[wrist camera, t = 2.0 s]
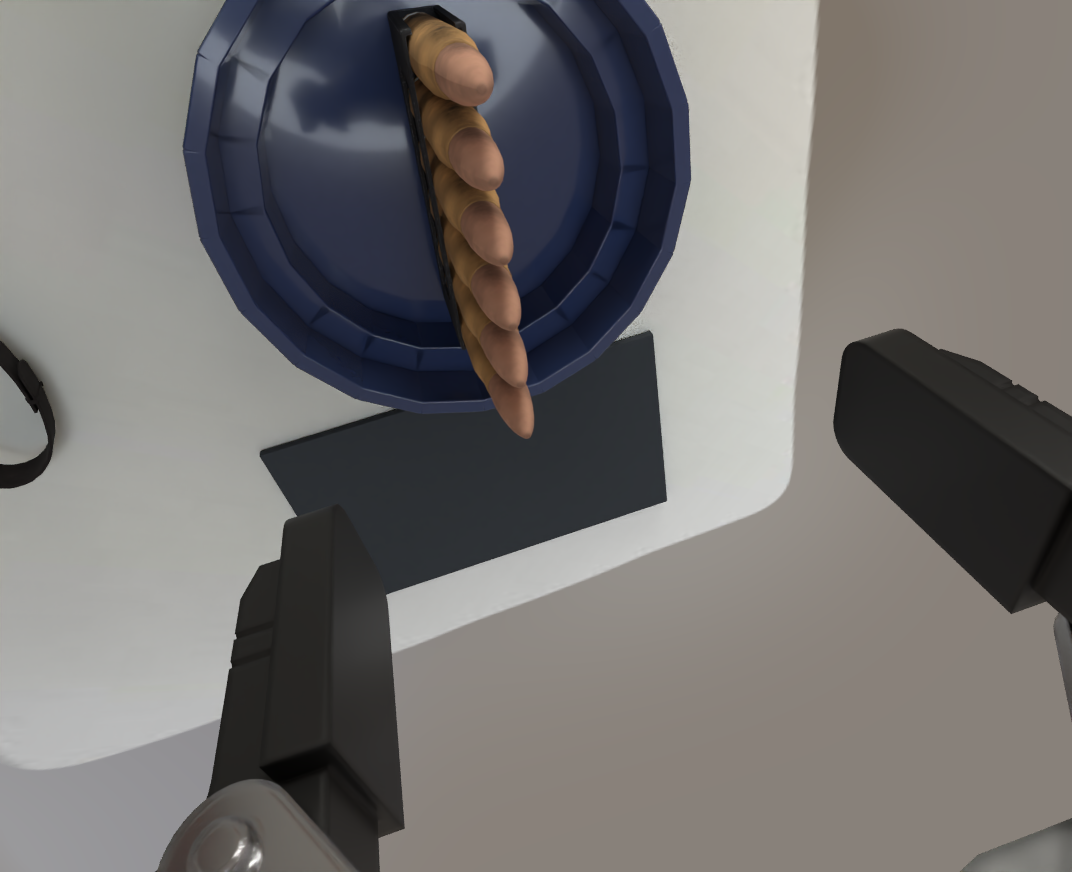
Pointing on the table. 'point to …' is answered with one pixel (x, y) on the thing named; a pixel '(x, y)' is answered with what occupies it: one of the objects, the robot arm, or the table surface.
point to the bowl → (396, 193)
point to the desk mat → (487, 470)
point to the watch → (38, 400)
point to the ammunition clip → (464, 198)
